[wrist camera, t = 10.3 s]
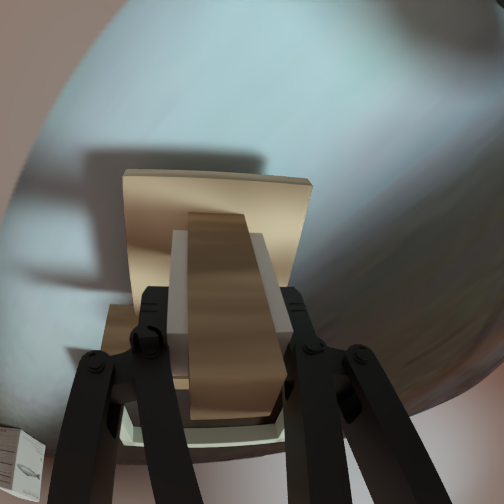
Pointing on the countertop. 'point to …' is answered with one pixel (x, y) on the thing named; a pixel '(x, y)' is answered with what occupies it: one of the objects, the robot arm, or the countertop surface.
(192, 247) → the wooden scraper
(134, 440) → the sage frame
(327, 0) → the countertop surface
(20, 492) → the supplement box
